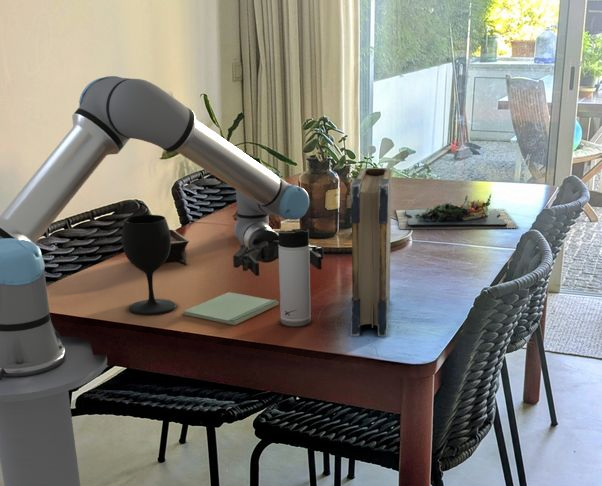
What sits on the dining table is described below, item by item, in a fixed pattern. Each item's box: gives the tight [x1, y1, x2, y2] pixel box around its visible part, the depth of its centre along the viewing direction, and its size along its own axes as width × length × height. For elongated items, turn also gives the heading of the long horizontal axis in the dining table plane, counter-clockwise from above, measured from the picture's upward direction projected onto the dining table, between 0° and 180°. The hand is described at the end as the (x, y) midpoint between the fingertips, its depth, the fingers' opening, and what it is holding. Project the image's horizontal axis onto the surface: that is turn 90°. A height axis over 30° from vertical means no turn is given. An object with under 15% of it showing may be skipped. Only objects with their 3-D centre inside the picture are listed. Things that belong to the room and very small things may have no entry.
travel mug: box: [277, 228, 312, 328], centre depth 177 cm, size 6×7×20 cm
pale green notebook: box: [182, 291, 280, 326], centre depth 189 cm, size 16×14×1 cm
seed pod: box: [232, 211, 282, 233], centre depth 253 cm, size 13×16×15 cm
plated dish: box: [395, 193, 518, 230], centre depth 267 cm, size 35×28×7 cm
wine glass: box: [121, 214, 177, 316], centre depth 188 cm, size 10×10×20 cm
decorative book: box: [349, 167, 392, 338], centre depth 177 cm, size 23×7×30 cm, turn 172°
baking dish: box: [164, 229, 190, 266], centre depth 226 cm, size 14×18×10 cm
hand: (288, 266), depth 181 cm, fingers open, 13 cm apart
